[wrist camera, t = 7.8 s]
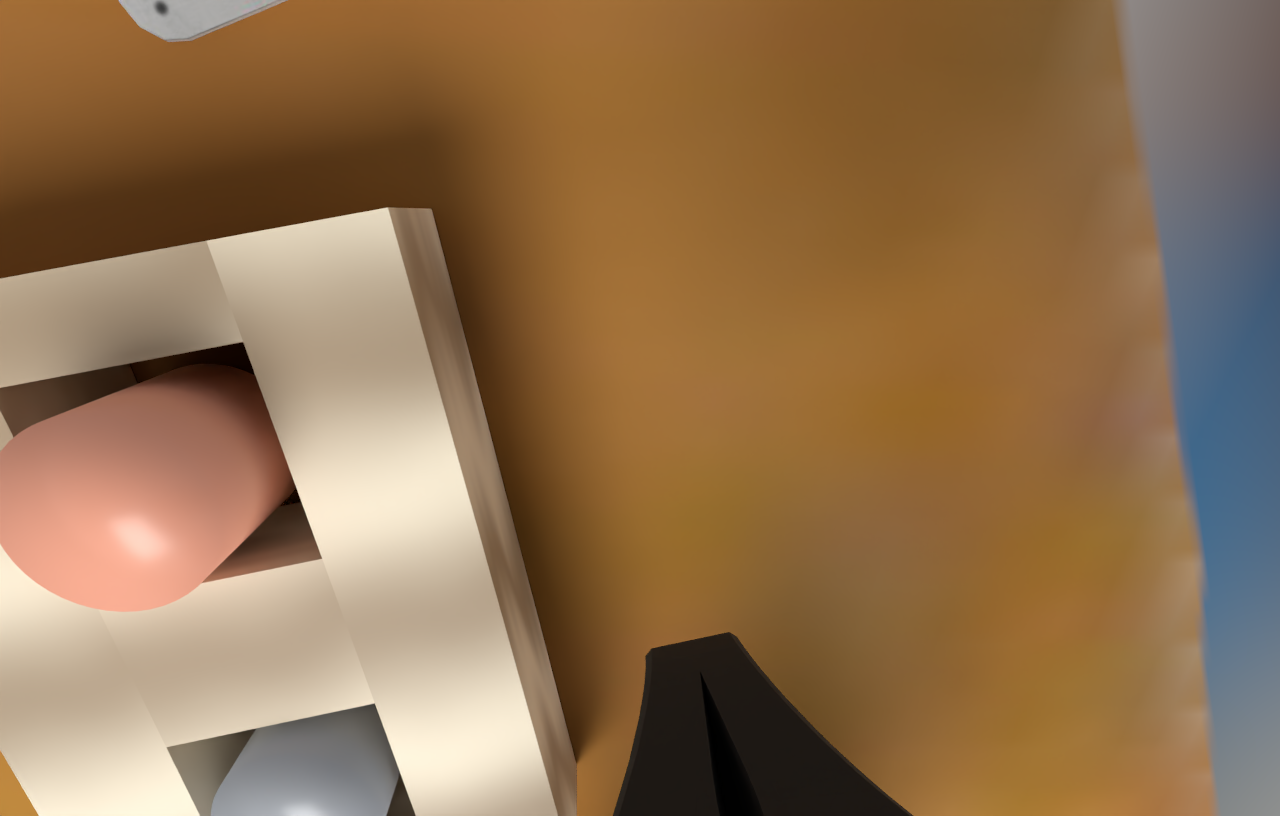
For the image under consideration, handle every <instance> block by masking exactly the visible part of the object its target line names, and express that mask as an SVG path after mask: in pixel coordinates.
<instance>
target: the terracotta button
mask: <svg viewBox="0 0 1280 816" xmlns="http://www.w3.org/2000/svg"><path fill="white" fill-rule="evenodd" d="M295 488H296V485H295V483H294V480H293V477H292V474H291V472H290V469H289V466H288V463H287V461H286V458H285V455H284V453H283V450H282V447H281V444H280V442H279V439H278V436H277V433H276V431H275V428H274V425H273V422H272V420H271V417H270V414H269V411H268V409H267V406H266V403H265V400H264V398H263V395H262V392H261V389H260V387H259V384H258V381H257V378H256V376H254V375H252V374H250V373H248V372H246V371H243V370H240V369H237V368H234V367H229V366H225V365H218V364H195V365H188V366H184V367H180V368H177V369H175V370H172V371H169V372H167V373H164V374H162V375H159V376H157V377H154V378H151V379H149V380H146V381H144V382H141V383H139V384H136V385H133V386H131V387H128V388H126V389H123V390H121V391H118V392H115V393H113V394H110V395H108V396H105V397H103V398H100V399H97V400H95V401H92V402H90V403H87V404H85V405H82V406H79V407H77V408H74V409H72V410H69V411H67V412H64V413H61V414H59V415H56V416H54V417H51V418H49V419H46V420H44V421H41V422H39V423H36V424H34V425H32V426H30V427H28V428H27V429H25V430H23V431H21V432H20V433H19V434H17V435H16V436H15V437H14V438H13V439H11V440H10V441H9V442H8V443H7V444H6V446H5V447H4V448H3V449H2V450H1V451H0V544H1V546H2V547H3V549H4V551H5V552H6V553H7V555H8V556H9V557H10V558H11V560H12V561H13V562H14V563H15V564H16V565H17V566H18V567H19V568H20V569H21V570H22V571H23V572H24V573H25V574H26V575H27V576H28V577H30V578H31V579H32V580H33V581H35V582H36V583H37V584H39V585H40V586H42V587H43V588H45V589H47V590H48V591H50V592H52V593H54V594H56V595H57V596H59V597H61V598H63V599H66V600H69V601H71V602H74V603H76V604H79V605H83V606H86V607H90V608H94V609H100V610H106V611H117V612H133V611H143V610H150V609H154V608H157V607H161V606H165V605H167V604H170V603H172V602H175V601H177V600H178V599H180V598H182V597H184V596H186V595H187V594H189V593H190V592H191V591H193V590H194V589H195V588H197V587H198V586H199V585H200V584H201V583H202V582H203V581H204V580H205V579H206V578H207V577H208V576H209V575H210V574H211V573H212V572H213V571H214V570H215V569H216V568H217V567H218V566H219V565H220V564H221V563H222V562H223V561H224V560H225V559H226V558H227V557H228V556H229V555H230V554H231V553H232V552H233V551H234V550H235V549H236V548H237V547H238V546H239V545H240V544H241V543H242V542H243V541H244V540H245V539H246V538H247V537H248V536H249V535H250V534H252V533H253V532H254V531H255V530H256V529H257V528H258V527H259V526H260V525H261V524H262V523H263V522H264V521H265V520H266V519H267V518H268V517H269V516H270V515H271V514H272V513H273V512H274V511H275V510H276V509H277V508H278V507H279V506H280V505H281V504H282V503H283V502H284V501H285V500H286V499H287V498H288V497H289V496H290V495H291V494H292V493H293V491H294V490H295Z"/></svg>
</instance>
